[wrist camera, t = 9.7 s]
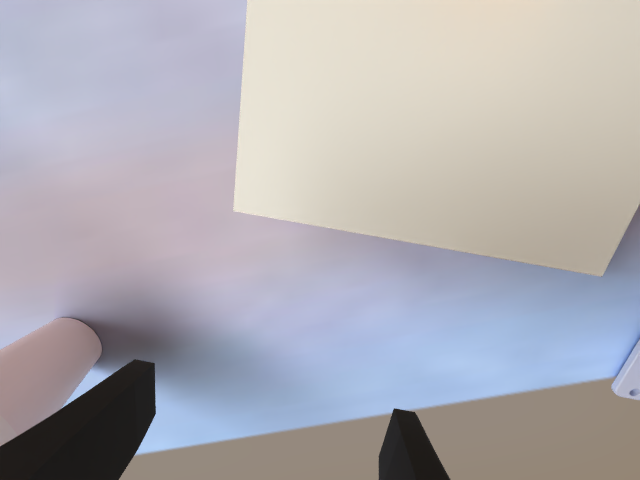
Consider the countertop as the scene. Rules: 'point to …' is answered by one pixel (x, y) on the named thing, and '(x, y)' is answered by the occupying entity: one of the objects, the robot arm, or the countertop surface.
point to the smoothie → (43, 373)
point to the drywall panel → (446, 123)
